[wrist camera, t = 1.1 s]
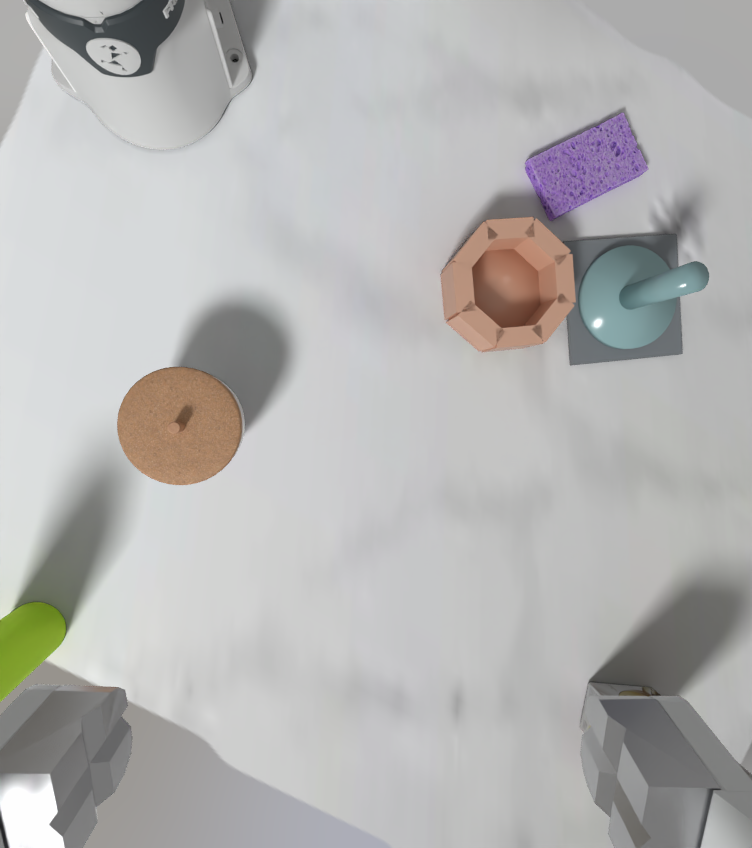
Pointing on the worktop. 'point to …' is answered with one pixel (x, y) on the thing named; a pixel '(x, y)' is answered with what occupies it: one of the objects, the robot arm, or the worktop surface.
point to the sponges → (585, 166)
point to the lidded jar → (180, 425)
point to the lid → (634, 295)
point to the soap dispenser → (27, 642)
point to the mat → (579, 338)
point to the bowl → (508, 285)
